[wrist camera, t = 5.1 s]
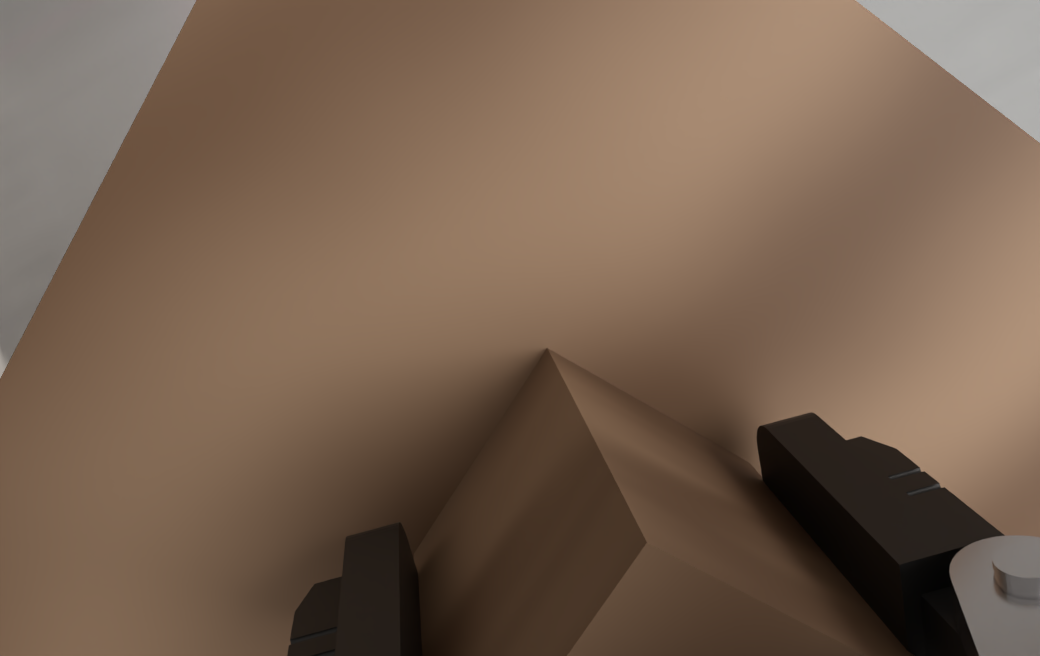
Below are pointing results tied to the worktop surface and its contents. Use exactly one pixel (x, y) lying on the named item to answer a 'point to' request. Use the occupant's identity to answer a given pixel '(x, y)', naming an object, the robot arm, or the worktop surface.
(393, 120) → the walnut lid
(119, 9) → the worktop surface
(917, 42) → the worktop surface
